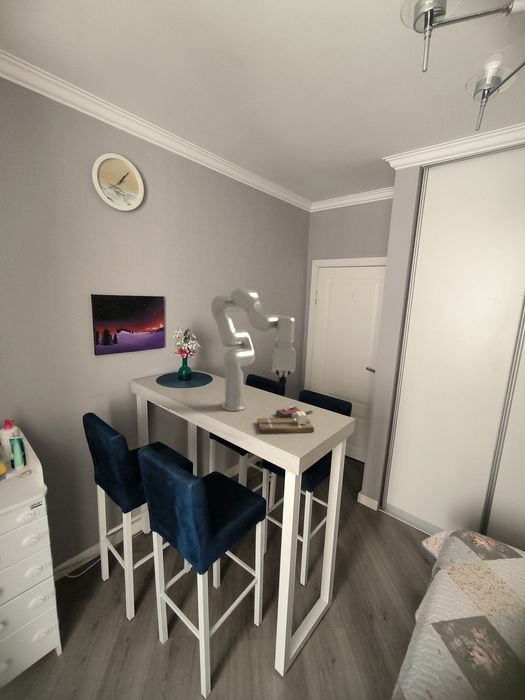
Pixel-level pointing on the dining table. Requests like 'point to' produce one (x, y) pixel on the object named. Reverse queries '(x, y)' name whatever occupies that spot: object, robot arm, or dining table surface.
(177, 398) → the dining table surface
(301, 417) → the fader
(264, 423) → the brown board with strips
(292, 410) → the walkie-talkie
